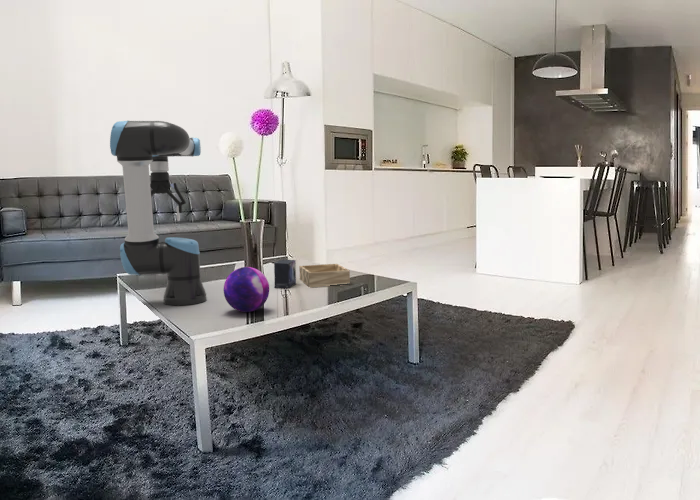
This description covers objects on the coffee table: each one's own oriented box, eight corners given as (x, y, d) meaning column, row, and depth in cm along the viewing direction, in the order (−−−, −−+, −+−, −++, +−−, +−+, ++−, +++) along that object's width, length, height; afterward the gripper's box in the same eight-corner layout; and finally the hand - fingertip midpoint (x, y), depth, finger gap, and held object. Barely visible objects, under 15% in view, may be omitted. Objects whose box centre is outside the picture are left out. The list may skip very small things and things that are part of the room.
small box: (289, 288, 231) (288, 263, 230) (274, 288, 233) (273, 262, 231) (297, 284, 242) (296, 259, 240) (282, 283, 243) (281, 259, 242)
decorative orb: (245, 305, 202) (243, 262, 200) (279, 309, 194) (277, 265, 192) (215, 313, 189) (212, 269, 187) (249, 318, 181) (248, 271, 180)
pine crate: (349, 284, 237) (349, 270, 236) (309, 287, 232) (309, 273, 232) (337, 276, 257) (336, 263, 256) (299, 279, 252) (299, 265, 252)
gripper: (190, 171, 252) (192, 219, 254) (130, 172, 248) (134, 221, 250) (188, 171, 245) (191, 220, 247) (127, 172, 240) (130, 222, 243)
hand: (162, 221), depth 248 cm, fingers open, 13 cm apart
